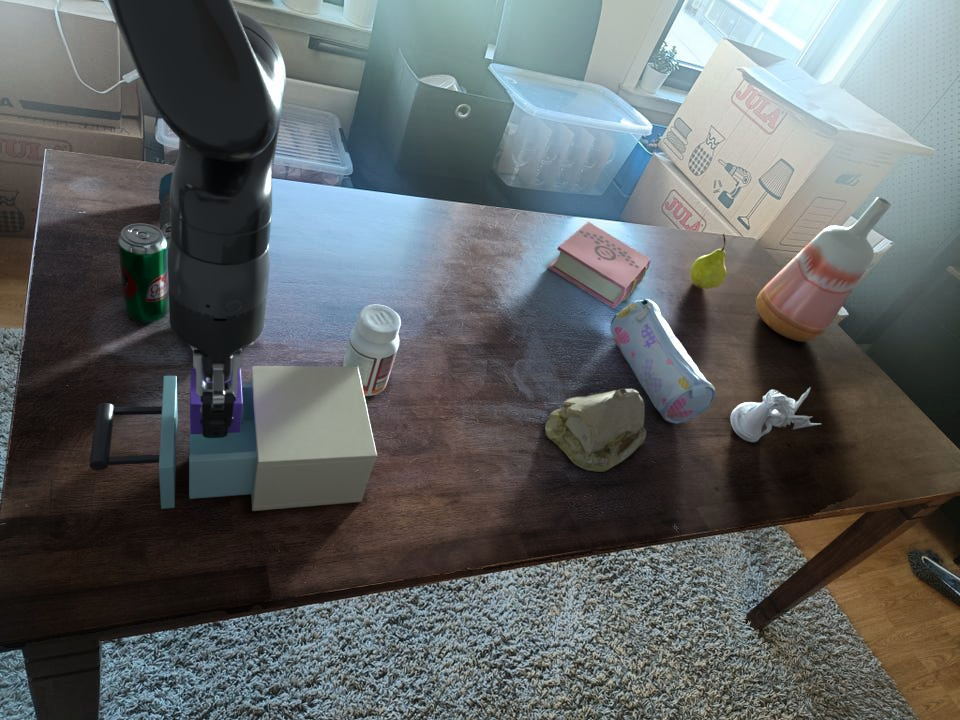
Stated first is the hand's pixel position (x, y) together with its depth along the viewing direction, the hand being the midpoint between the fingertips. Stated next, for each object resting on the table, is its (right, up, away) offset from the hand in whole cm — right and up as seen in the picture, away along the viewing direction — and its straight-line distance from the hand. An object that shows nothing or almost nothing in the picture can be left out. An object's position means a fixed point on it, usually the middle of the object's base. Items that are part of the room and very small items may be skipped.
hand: (214, 413), depth 62 cm
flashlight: (-18, +22, +28) cm, 40 cm away
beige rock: (+42, -6, +27) cm, 50 cm away
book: (+49, +22, +59) cm, 79 cm away
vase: (+89, +13, +68) cm, 112 cm away
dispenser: (+6, -6, +10) cm, 13 cm away
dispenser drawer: (-5, -5, +4) cm, 8 cm away
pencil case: (+54, +2, +40) cm, 67 cm away
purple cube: (0, 0, 0) cm, 0 cm away
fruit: (+72, +21, +68) cm, 101 cm away
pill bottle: (+11, +3, +21) cm, 24 cm away
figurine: (+70, -7, +38) cm, 80 cm away
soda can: (-16, +11, +18) cm, 27 cm away
